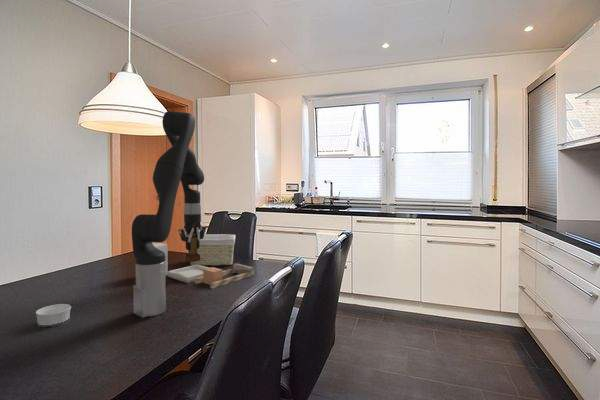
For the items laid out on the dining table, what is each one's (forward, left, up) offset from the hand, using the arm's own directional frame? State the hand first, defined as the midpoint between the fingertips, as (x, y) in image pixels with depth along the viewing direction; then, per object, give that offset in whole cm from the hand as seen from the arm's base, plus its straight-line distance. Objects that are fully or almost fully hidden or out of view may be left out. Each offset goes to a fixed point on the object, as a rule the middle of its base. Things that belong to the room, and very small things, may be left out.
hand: (192, 249), depth 153 cm
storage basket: (+22, +13, -13) cm, 28 cm away
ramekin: (-57, -9, -13) cm, 59 cm away
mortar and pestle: (0, 0, -5) cm, 5 cm away
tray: (0, 0, -13) cm, 13 cm away
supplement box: (-12, +13, -13) cm, 22 cm away
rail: (+6, -16, -13) cm, 21 cm away
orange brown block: (-1, -16, -13) cm, 20 cm away
